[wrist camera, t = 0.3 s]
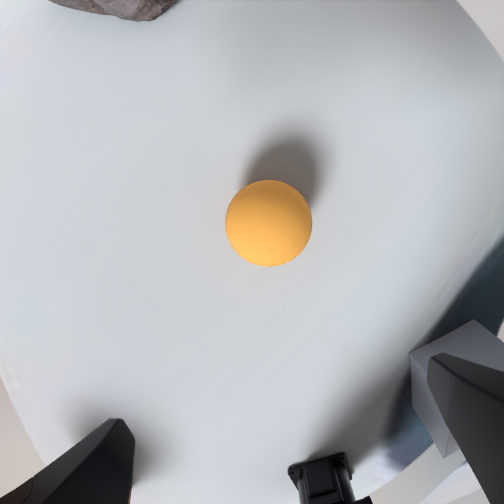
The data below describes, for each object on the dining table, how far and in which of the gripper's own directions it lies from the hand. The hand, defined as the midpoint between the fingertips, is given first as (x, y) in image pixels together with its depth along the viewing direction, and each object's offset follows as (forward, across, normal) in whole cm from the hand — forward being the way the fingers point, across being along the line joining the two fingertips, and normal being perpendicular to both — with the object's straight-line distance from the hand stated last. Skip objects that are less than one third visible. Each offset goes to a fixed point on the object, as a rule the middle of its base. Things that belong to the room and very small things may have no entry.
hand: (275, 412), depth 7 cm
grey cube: (+14, -15, +14) cm, 26 cm away
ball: (+12, -1, -3) cm, 12 cm away
